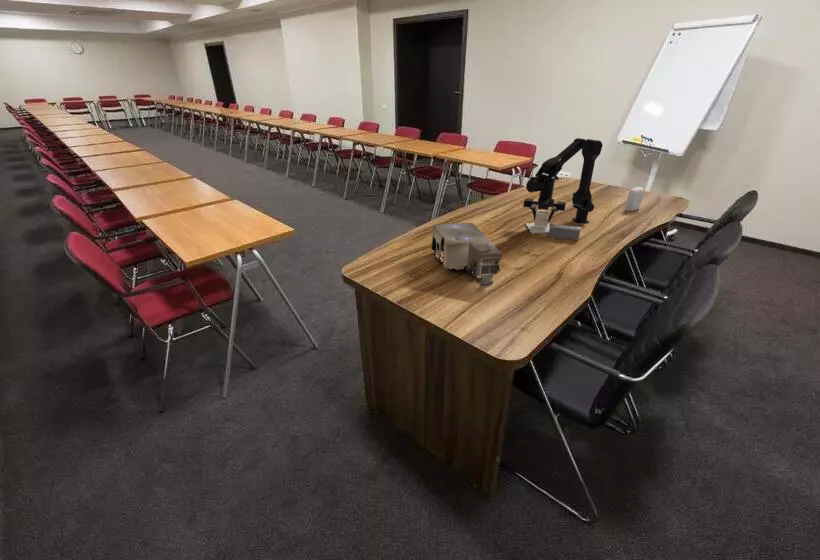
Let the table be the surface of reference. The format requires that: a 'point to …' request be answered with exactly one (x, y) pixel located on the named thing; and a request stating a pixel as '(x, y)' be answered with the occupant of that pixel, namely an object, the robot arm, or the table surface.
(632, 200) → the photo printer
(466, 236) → the projector
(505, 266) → the table surface
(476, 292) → the table surface
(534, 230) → the mat
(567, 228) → the screen
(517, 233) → the table surface
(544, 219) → the letter cube
